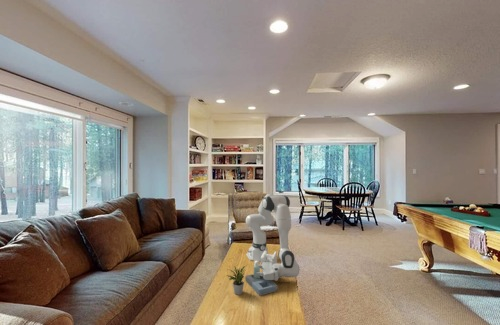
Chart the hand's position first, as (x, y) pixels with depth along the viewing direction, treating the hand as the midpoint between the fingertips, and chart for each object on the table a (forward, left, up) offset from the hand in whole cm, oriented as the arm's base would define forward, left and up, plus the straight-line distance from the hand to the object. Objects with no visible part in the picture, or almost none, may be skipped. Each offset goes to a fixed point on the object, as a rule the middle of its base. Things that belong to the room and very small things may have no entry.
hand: (256, 270), depth 168 cm
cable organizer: (-16, +19, -8) cm, 26 cm away
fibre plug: (0, 0, -8) cm, 8 cm away
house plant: (+7, -16, -8) cm, 19 cm away
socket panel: (+6, 0, -8) cm, 10 cm away
